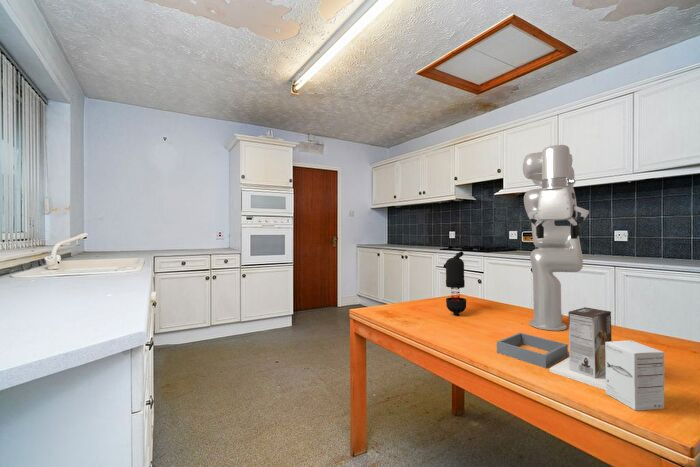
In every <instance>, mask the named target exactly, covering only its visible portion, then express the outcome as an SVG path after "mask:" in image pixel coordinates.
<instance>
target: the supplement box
mask: <svg viewBox="0 0 700 467" xmlns="http://www.w3.org/2000/svg"><path fill="white" fill-rule="evenodd" d="M605 346H606V347H605V349H606V351H605V352H606V390H605V394H606V395H607V396H610V397H612V398H613V399H615V400H616V401H618V402H620V403H622V404H623V405H626V406H627V407H629V408H630V409H632V410H634V411H648V410H650V411H651V410H662V409H665V351H662V350H660V349H657V348H653V347H651V346H648V345H646V344H643V343H640V342H636V341H634V340H615V341H614V340H613V341H612V342H605Z"/></svg>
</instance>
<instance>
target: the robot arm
mask: <svg viewBox="0 0 700 467" xmlns="http://www.w3.org/2000/svg"><path fill="white" fill-rule="evenodd" d="M522 163H523V164H522V174H523V176H524V177H525V178H526V179H528V180H531V181H532V183H533V184H534V185H535V186H538V187H541V188H534V189H530V190H527V191H526V192H525V193H524V194H523V195H524V196H523V205H524V210H525V212H526V214H527V217H528V218H529V221H530V222H531V223H530V224H531V234H532V235H531V236H532V241H533V242H532V243H533V245H534V247H536V248H535V249H533V250H532V251H531V253H530V254H529V260H530V266H531V271H532V290H533V295H532V296H533V319H531V320H529V325H530V326H531V327H533V328H536V329H539V330H543V331H552V332H554V331H557V332H558V331H565V330H566V329H567V325H566V324H565V323H563V322H562V321H563V320H562V319H564V314H563V313H562V284H561V281H560V280H559V279H558V276H557V277H556V275H554V274H553V273H579V272H580V271H582V269H583V267H584V259H583V252H582V247H581V246H582V245H581V242H580V241H581V240H580V236H579V235H580V230H579V229H580V225H581V224H582V223H583V222H584V221H585V220H586V218H587V217H588V216H589V214H590V211H589V210H588V209H585V208H583V207H580V206H577V197H576V193H575V188H574V186H575V185H574V184H576V179H575V170H574V168H573V155H572V154H571V153H570V147H569V146H568V145H566V144H557V145H549V146H547V147H544V148H543V149H542V151H539V152H532V153H528V154H526V155H525V157H524V159H523V162H522ZM578 213H580V215H579V217H578ZM577 217H578V218H577ZM555 221H568V222H570V224H571V226H570V225H555Z"/></svg>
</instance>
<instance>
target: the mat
mask: <svg viewBox="0 0 700 467" xmlns="http://www.w3.org/2000/svg"><path fill="white" fill-rule="evenodd" d="M569 358H570V356H567V358H564V359H563V360H560V362H558V363H555V364H553V365H552V366H550V368H549V373H552V374H555V375H558V376H561V377H564V378H568V379H570V380H573V381H576V382H580V383H582V384H586V385H589V386H592V387H595V388H598V389H601V390H605V391H606V374H604V375H602V376H600V377H598V378H593V377H590V376H587V375H584V374H581V373H578V372H575V371H572V370H570V359H569Z"/></svg>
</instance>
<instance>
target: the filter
mask: <svg viewBox="0 0 700 467" xmlns="http://www.w3.org/2000/svg"><path fill="white" fill-rule="evenodd" d="M463 255H464V252H463V251H461V250H460V251H459V252H457V253H455V255H454V256H453V257H450V258H448V259H447V260H446V262H445V263H444V264H443V268H444V269H445V287H446V288H450V289H451V290H455V289H457V290H460V289H462V288H465V287H466V286H465V262H464V261H463V259H461V258H462V257H463ZM451 294H454V291H451ZM455 294H456V296H454V295H451V297H450V296H449V297H447V298H446V299H445V304H446V305H445V306H446V309H447V310H448V311H450V312H452V313H453V316H455V317H459V316H460V313H462V312H464V311H465V310H466V309H467V299H466V298H464V297H460V295H458V294H460V291H457V292H455Z"/></svg>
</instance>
